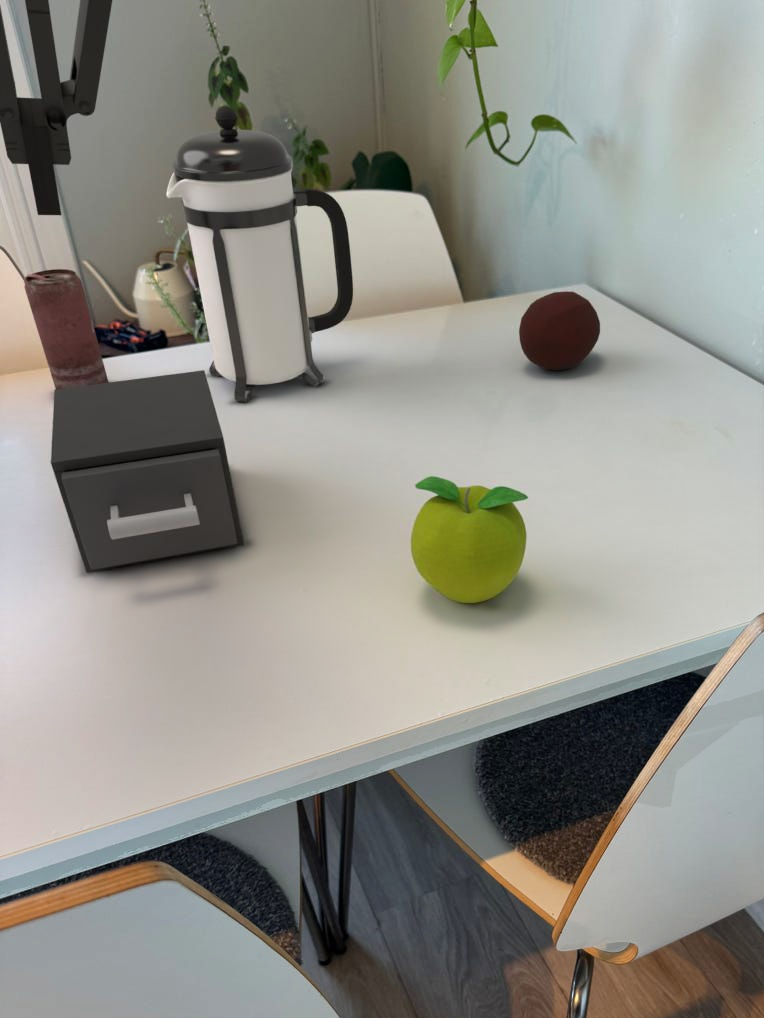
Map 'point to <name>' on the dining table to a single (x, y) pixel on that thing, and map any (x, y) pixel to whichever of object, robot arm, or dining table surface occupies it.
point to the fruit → (468, 539)
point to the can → (65, 328)
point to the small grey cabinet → (135, 430)
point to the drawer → (151, 507)
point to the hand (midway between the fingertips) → (47, 201)
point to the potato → (559, 330)
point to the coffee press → (254, 254)
